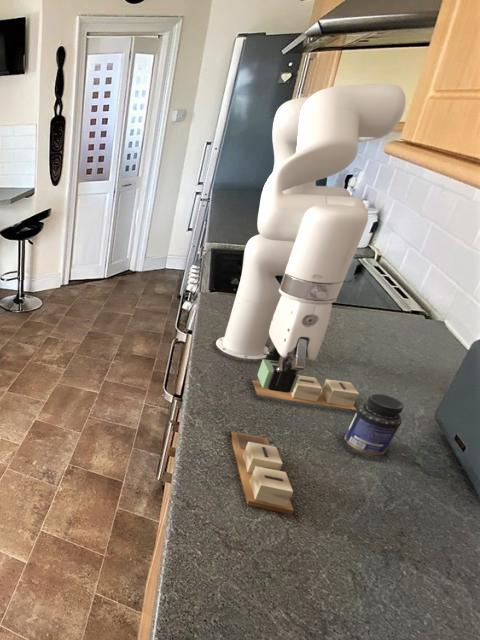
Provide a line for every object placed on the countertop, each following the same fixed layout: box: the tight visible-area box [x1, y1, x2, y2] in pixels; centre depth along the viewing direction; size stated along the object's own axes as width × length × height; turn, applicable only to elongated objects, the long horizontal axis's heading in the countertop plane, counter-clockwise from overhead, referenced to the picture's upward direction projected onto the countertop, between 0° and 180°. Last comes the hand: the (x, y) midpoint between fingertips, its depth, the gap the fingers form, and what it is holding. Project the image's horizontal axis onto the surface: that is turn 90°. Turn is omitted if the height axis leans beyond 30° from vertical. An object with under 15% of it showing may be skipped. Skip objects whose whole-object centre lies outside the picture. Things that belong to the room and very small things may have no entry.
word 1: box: [229, 431, 295, 516], centre depth 78 cm, size 18×6×5 cm, turn 160°
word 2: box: [251, 374, 360, 411], centre depth 96 cm, size 6×18×5 cm, turn 70°
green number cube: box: [256, 358, 300, 393], centre depth 76 cm, size 4×4×4 cm
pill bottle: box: [344, 393, 405, 456], centre depth 80 cm, size 6×6×11 cm
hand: (274, 381), depth 77 cm, fingers closed on green number cube, 4 cm apart
